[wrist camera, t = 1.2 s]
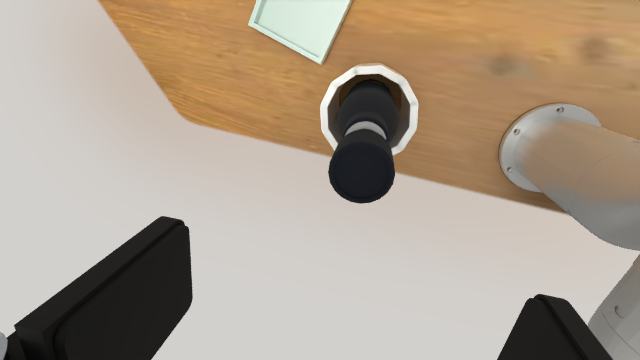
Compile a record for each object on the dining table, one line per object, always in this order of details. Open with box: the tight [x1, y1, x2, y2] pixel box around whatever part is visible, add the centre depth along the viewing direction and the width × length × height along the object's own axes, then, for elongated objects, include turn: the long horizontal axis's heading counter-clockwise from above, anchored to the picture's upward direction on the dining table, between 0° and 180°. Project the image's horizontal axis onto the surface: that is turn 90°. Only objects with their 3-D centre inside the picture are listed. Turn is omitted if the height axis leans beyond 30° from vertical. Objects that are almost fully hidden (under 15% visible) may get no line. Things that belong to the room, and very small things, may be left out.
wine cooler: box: [320, 62, 418, 156], centre depth 40 cm, size 11×11×12 cm
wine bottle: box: [328, 79, 399, 203], centre depth 32 cm, size 6×6×30 cm
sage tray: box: [248, 0, 353, 64], centre depth 41 cm, size 11×11×2 cm
